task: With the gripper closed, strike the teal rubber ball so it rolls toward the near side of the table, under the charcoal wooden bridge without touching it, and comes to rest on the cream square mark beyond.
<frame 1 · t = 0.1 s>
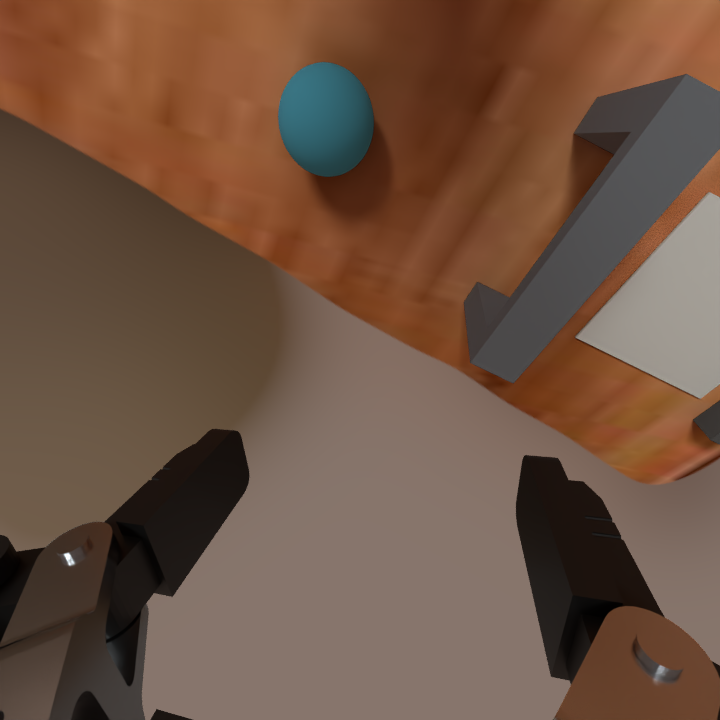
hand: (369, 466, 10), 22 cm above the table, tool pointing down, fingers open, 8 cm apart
bridge: (537, 225, 26), on the table
ball: (326, 123, 23), on the table
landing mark: (702, 308, 27), on the table
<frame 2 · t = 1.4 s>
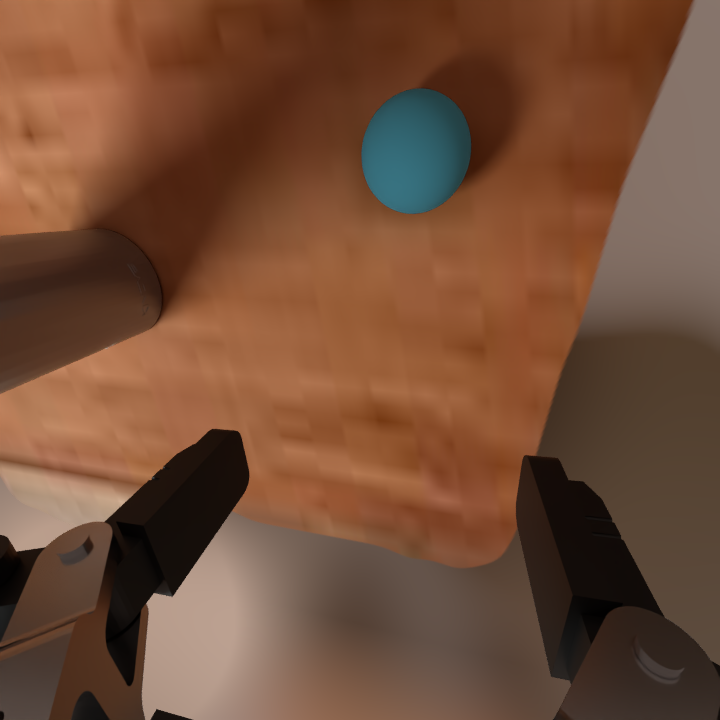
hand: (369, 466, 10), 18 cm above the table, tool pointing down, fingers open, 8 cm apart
ball: (415, 155, 20), on the table
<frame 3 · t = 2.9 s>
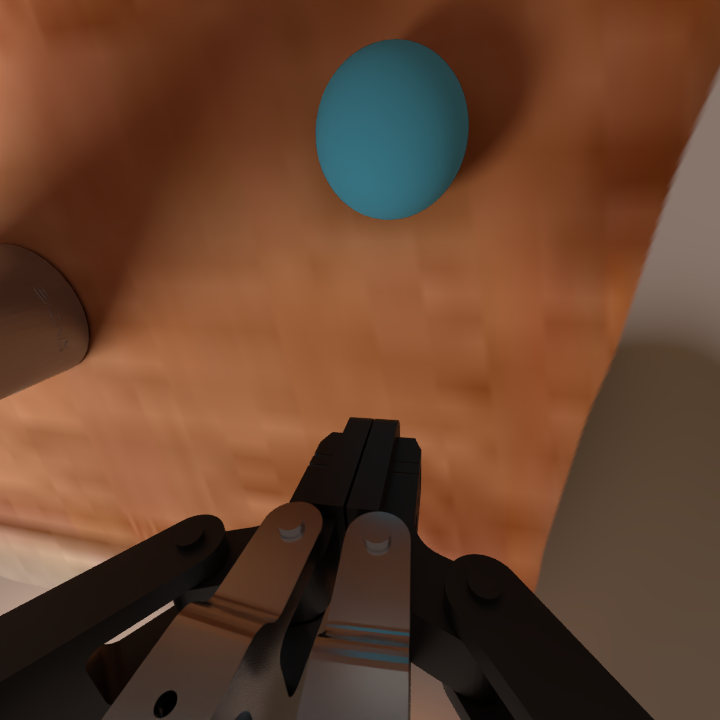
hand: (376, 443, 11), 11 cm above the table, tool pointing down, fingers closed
ball: (390, 139, 14), on the table
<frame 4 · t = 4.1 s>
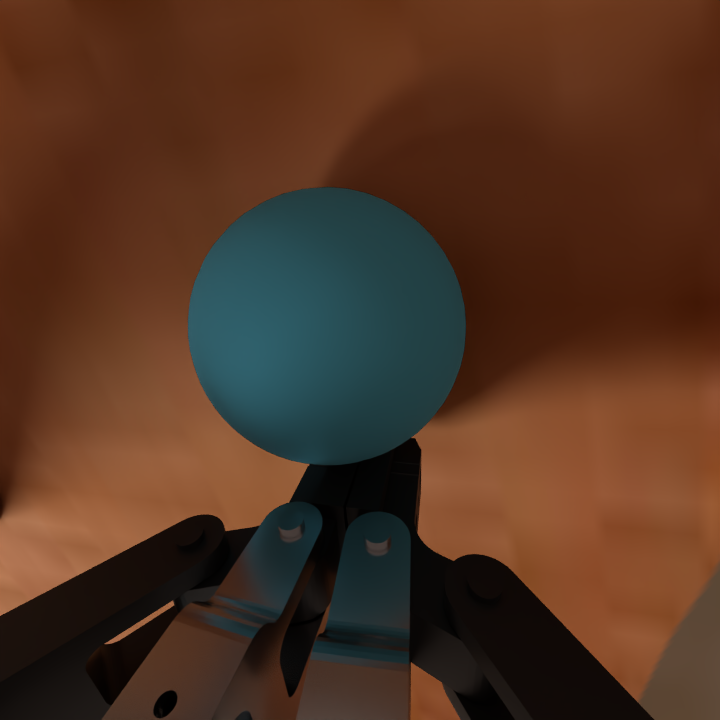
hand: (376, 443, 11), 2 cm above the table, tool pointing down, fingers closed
ball: (331, 330, 8), on the table
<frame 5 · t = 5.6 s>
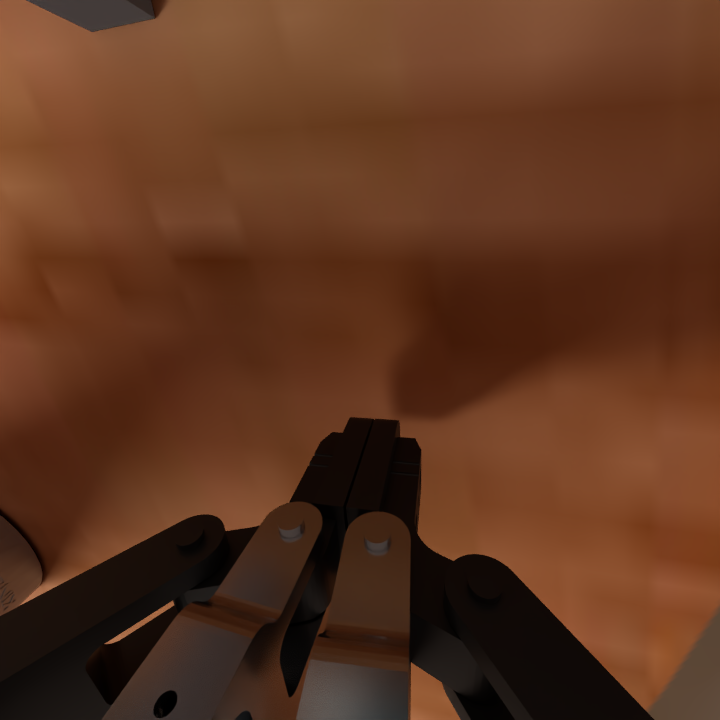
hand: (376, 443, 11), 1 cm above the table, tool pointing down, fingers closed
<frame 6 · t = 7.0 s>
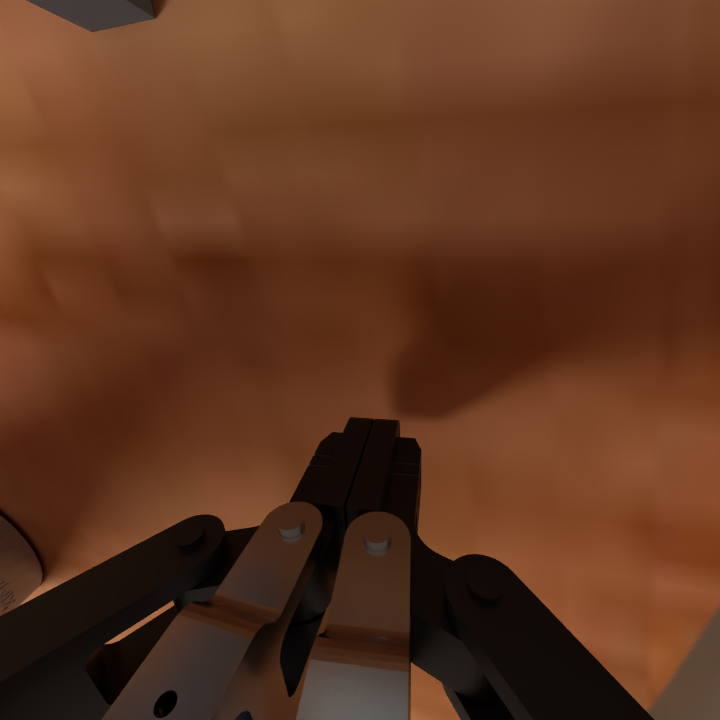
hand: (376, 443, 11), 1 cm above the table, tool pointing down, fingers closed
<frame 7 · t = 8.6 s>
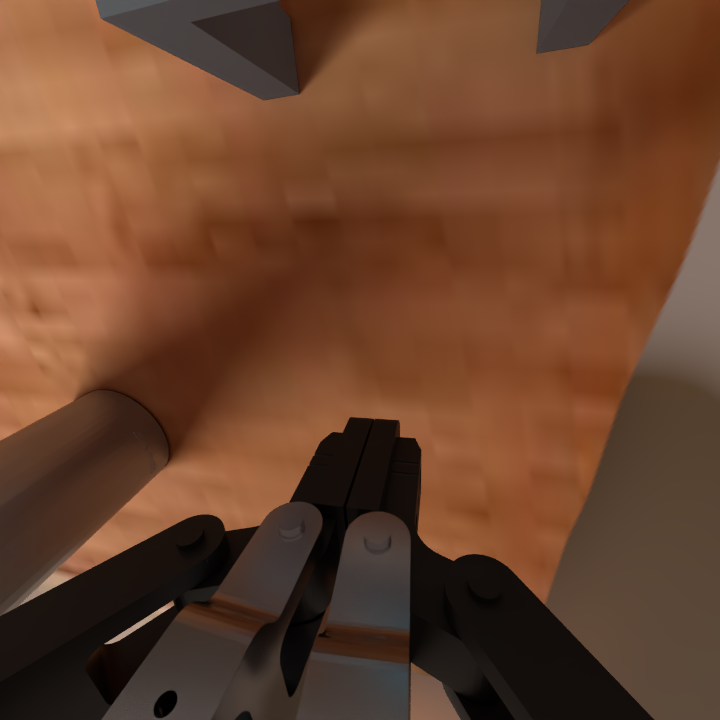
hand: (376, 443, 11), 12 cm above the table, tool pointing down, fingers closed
bridge: (407, 34, 16), on the table
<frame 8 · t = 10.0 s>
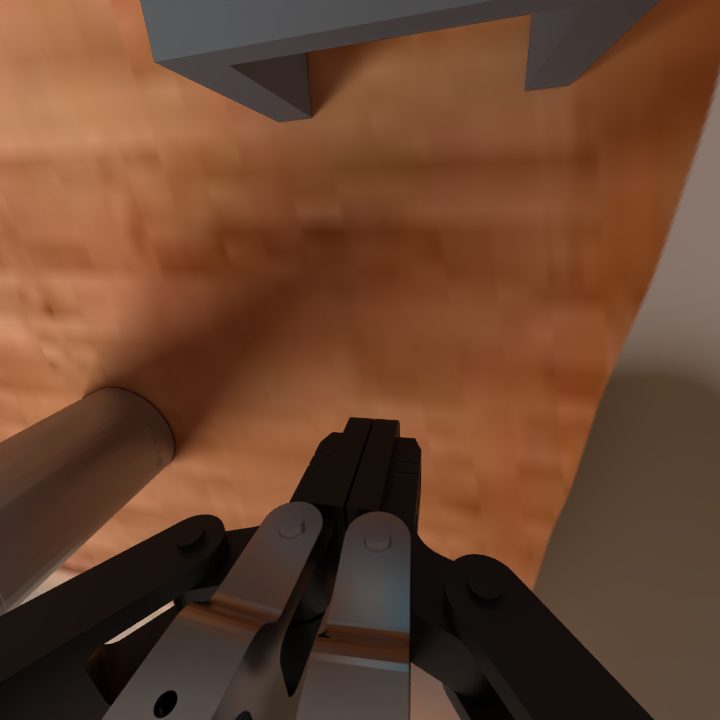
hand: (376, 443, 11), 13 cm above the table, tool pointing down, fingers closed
bridge: (411, 69, 18), on the table
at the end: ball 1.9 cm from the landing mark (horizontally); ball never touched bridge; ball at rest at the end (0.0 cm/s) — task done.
